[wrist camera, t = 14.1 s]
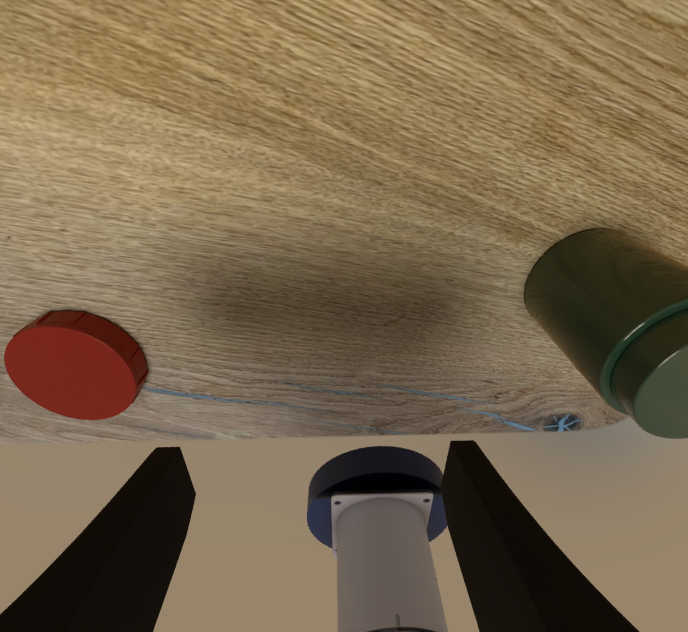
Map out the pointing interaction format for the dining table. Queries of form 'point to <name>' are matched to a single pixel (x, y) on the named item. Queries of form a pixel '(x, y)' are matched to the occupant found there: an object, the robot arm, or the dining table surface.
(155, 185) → the dining table surface
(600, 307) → the jam jar
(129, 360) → the jar lid
